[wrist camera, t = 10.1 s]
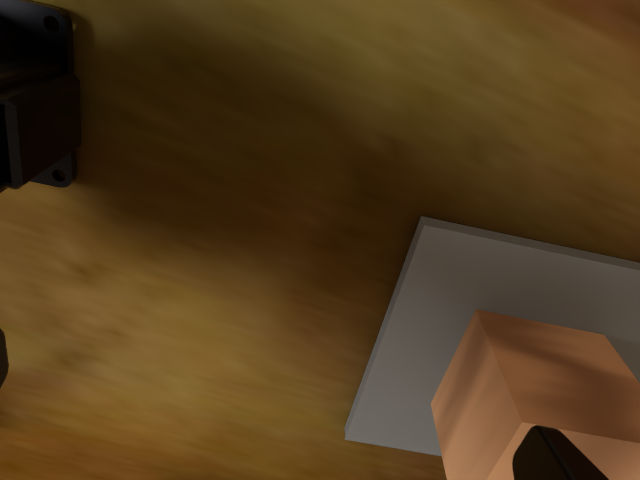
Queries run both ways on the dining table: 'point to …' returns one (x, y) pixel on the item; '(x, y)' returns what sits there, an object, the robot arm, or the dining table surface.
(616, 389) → the cube
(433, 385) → the mat
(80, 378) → the dining table surface
